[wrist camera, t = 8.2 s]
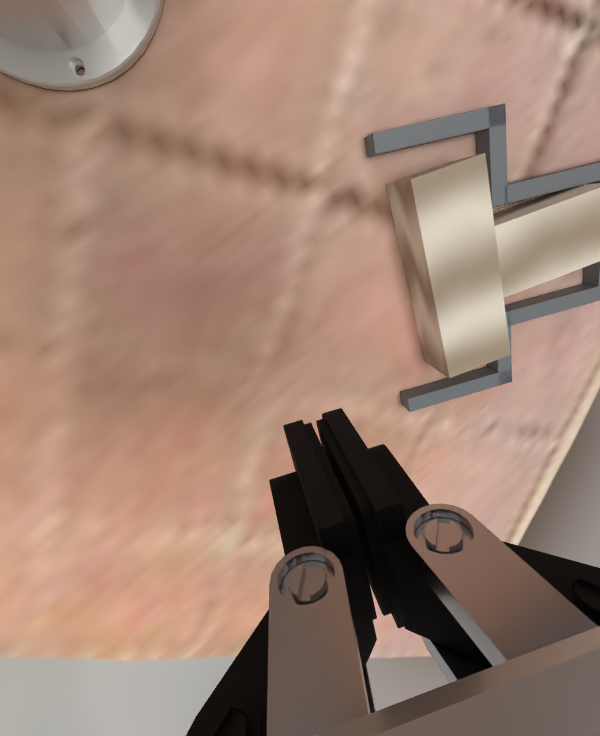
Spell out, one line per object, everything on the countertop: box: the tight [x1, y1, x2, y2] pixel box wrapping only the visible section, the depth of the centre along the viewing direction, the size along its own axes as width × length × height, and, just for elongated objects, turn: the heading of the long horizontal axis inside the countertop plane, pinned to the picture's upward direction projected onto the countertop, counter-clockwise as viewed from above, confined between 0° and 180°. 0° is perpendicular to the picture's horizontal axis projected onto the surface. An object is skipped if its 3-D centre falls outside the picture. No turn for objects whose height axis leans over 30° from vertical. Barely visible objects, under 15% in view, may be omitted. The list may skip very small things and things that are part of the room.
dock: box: [365, 104, 600, 412], centre depth 31 cm, size 20×18×2 cm
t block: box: [386, 153, 600, 378], centre depth 30 cm, size 14×14×4 cm
